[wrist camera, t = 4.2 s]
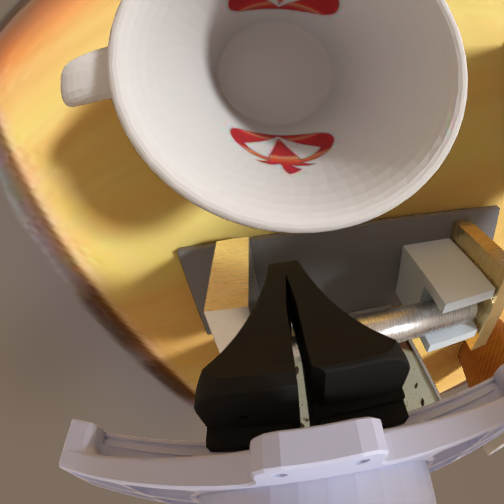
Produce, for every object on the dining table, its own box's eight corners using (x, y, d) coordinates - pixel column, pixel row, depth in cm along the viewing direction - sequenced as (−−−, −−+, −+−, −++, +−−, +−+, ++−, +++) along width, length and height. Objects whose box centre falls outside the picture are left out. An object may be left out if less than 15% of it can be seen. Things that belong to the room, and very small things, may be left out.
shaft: (216, 241, 14) (203, 311, 10) (451, 209, 13) (505, 257, 9) (238, 323, 17) (236, 393, 13) (435, 289, 16) (469, 342, 12)
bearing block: (400, 242, 16) (445, 304, 11) (446, 234, 15) (495, 289, 10) (393, 288, 17) (427, 352, 13) (436, 279, 17) (474, 336, 12)
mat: (178, 248, 16) (177, 252, 15) (496, 205, 14) (499, 208, 14) (208, 330, 19) (207, 334, 19) (476, 281, 17) (479, 284, 17)
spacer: (453, 220, 14) (506, 271, 10) (468, 218, 14) (520, 267, 10) (436, 295, 17) (471, 350, 13) (449, 292, 17) (485, 344, 13)
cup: (134, 161, 13) (38, 241, 6) (127, 11, 9) (20, -31, 2) (352, 160, 13) (443, 241, 6) (359, 8, 9) (461, -42, 2)
